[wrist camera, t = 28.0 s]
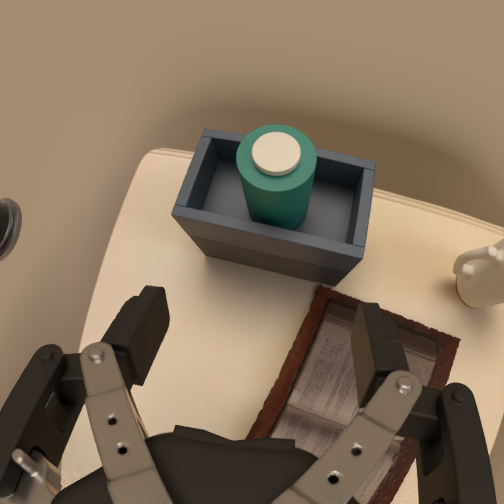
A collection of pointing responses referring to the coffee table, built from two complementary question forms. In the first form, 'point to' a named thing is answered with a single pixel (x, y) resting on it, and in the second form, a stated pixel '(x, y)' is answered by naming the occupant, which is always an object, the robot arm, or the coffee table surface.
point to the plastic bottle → (277, 175)
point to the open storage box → (270, 237)
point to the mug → (481, 275)
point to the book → (345, 387)
